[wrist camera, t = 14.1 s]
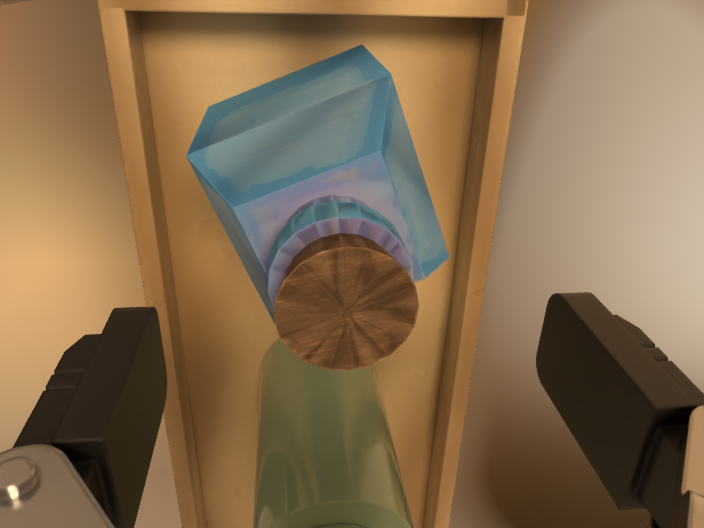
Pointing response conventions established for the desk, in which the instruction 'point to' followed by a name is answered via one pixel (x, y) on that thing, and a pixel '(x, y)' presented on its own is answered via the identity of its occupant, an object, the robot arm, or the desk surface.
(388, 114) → the perfume bottle
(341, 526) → the sage bottle
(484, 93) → the tray stand
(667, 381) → the robot arm
